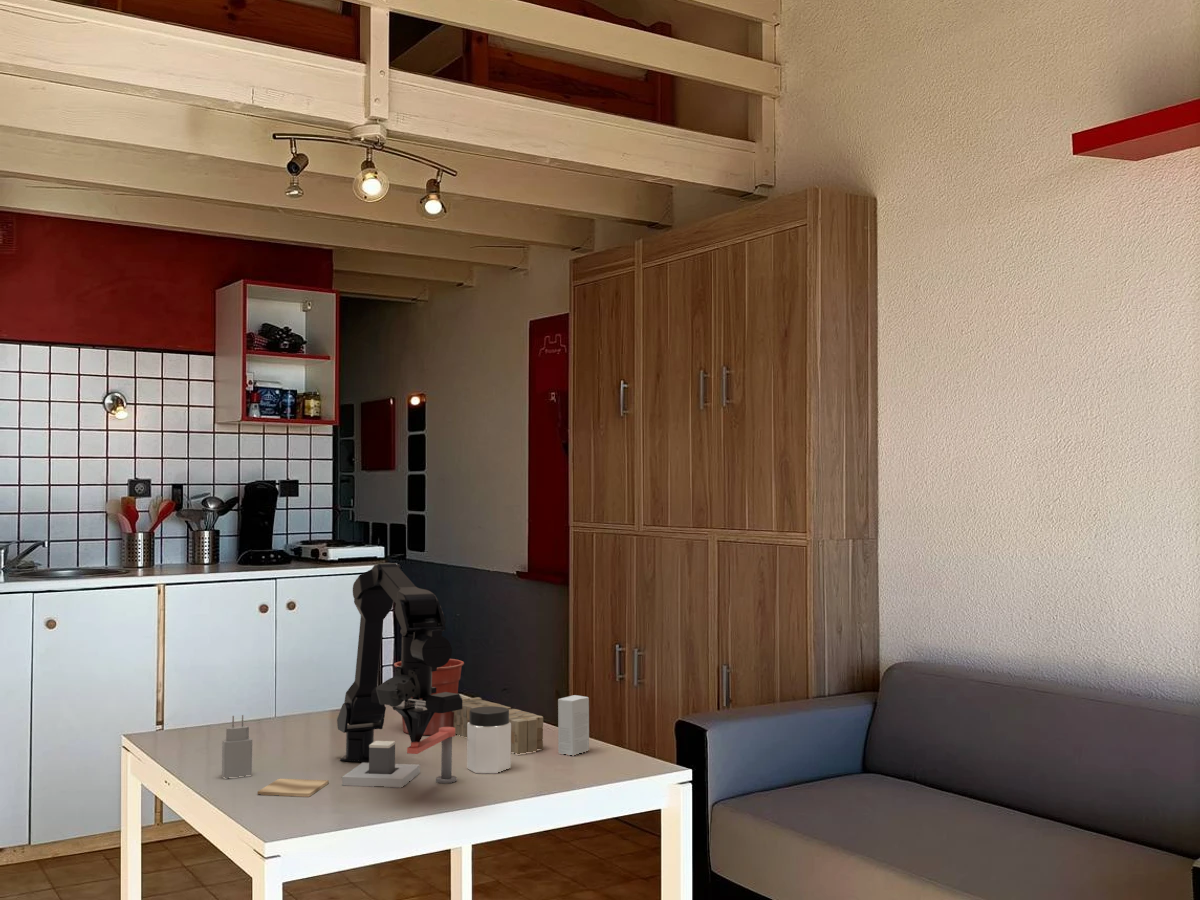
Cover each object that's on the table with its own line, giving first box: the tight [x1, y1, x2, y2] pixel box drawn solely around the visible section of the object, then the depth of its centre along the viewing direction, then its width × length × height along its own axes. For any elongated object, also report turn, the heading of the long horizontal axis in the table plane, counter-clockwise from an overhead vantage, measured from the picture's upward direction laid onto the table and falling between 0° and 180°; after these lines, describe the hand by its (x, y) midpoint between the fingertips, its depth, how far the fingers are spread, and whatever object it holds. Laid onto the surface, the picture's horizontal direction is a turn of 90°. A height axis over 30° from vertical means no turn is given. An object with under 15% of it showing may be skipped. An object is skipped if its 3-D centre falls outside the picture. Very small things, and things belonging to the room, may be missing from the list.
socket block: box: [341, 737, 458, 788], centre depth 222 cm, size 12×21×9 cm, turn 83°
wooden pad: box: [256, 778, 329, 798], centre depth 214 cm, size 10×10×1 cm
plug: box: [368, 740, 396, 774], centre depth 223 cm, size 4×4×7 cm
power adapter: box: [221, 714, 253, 778], centre depth 224 cm, size 3×5×12 cm, turn 122°
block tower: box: [452, 696, 544, 754], centre depth 258 cm, size 8×8×29 cm
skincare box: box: [557, 694, 590, 755], centre depth 246 cm, size 6×4×12 cm
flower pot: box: [393, 658, 465, 736], centre depth 270 cm, size 16×16×16 cm
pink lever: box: [406, 727, 456, 755], centre depth 214 cm, size 18×3×2 cm, turn 165°
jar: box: [466, 706, 512, 774], centre depth 231 cm, size 9×8×12 cm
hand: (415, 744), depth 211 cm, fingers closed
